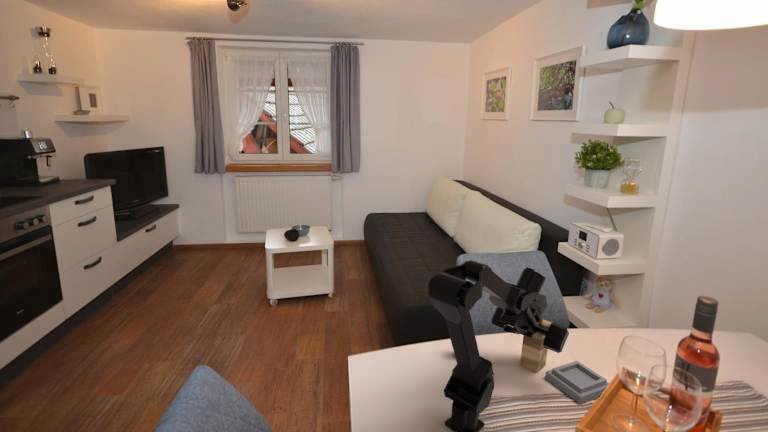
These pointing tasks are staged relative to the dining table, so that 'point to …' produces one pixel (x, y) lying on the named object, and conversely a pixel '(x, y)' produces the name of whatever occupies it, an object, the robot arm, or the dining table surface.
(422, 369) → the dining table surface
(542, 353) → the oak brick column
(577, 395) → the base plate
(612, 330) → the dining table surface
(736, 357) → the dining table surface
